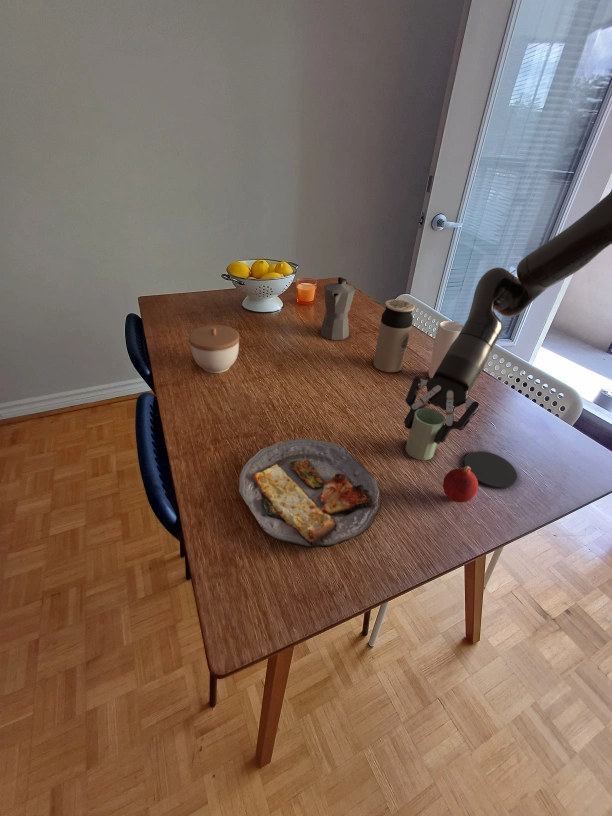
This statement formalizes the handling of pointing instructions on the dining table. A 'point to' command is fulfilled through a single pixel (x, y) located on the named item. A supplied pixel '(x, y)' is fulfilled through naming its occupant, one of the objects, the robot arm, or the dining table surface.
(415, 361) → the dining table surface
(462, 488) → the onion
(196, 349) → the lidded bowl
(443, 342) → the drinking glass
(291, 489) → the food plate
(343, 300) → the coffeepot
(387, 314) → the travel mug
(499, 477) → the coaster
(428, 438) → the cup
